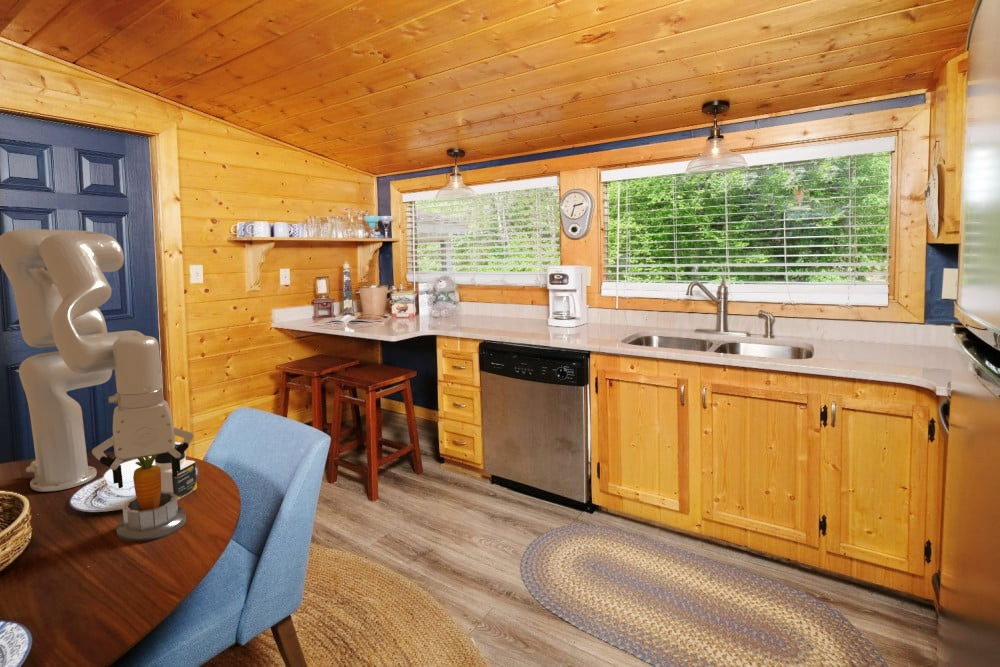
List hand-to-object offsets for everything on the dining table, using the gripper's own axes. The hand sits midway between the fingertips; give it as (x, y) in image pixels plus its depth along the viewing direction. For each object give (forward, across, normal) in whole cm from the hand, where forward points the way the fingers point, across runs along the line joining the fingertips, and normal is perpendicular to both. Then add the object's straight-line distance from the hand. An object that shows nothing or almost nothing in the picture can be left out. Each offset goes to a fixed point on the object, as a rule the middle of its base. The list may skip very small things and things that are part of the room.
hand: (148, 480), depth 111 cm
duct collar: (+10, 0, 0) cm, 10 cm away
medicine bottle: (+10, +5, +14) cm, 18 cm away
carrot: (+9, 0, 0) cm, 9 cm away
